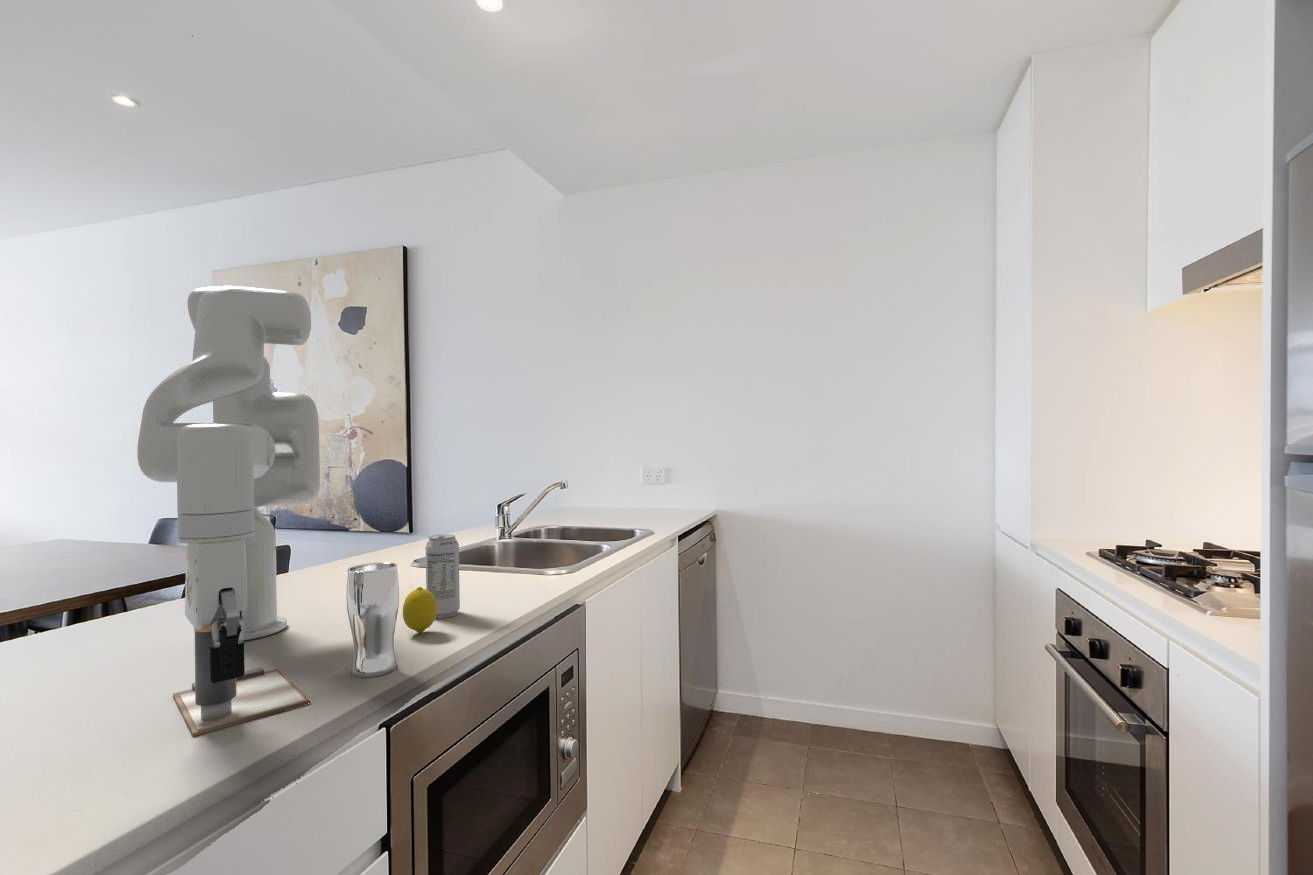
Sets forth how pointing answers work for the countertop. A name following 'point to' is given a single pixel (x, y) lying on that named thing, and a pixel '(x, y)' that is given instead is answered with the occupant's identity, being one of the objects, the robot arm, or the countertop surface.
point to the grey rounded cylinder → (208, 694)
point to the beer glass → (373, 617)
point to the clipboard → (245, 700)
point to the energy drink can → (443, 573)
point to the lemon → (419, 609)
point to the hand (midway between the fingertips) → (219, 667)
